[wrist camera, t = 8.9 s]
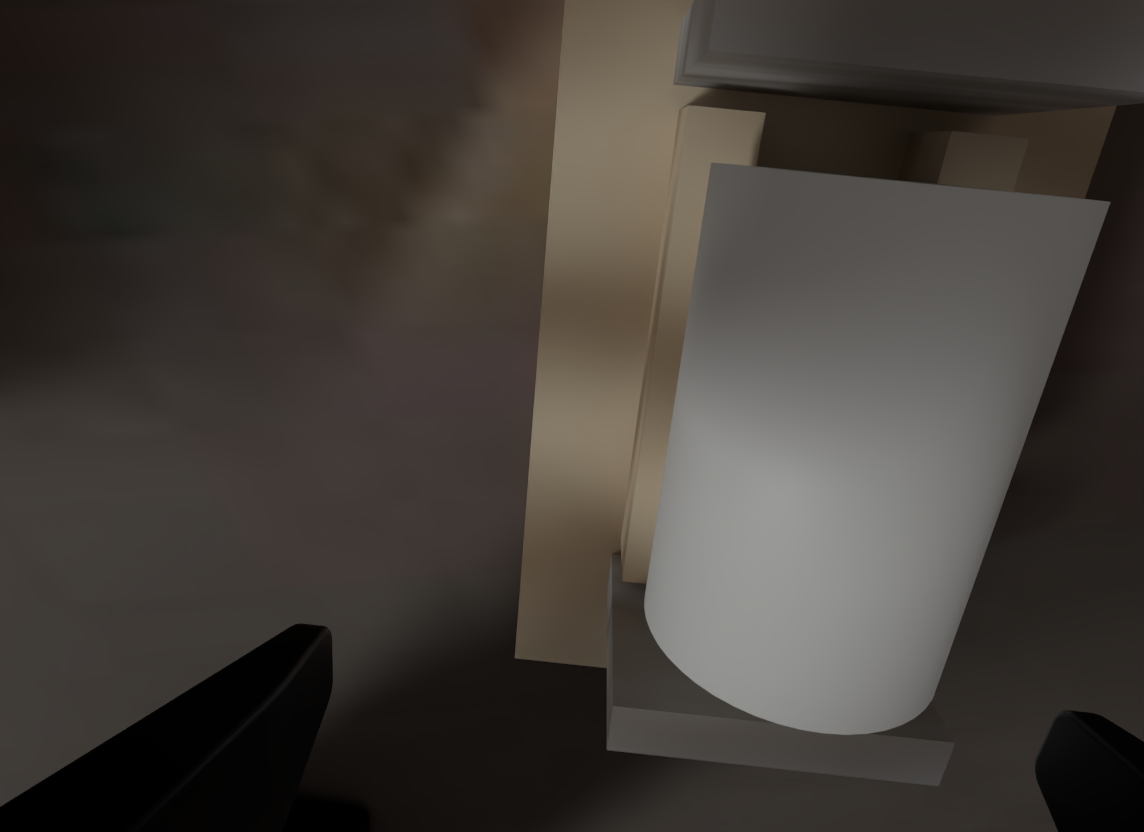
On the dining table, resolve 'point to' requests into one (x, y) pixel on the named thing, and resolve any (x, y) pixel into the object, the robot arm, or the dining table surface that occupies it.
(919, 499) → the roll
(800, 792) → the dining table surface
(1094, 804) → the robot arm
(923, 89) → the roll holder
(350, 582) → the dining table surface
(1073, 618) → the dining table surface
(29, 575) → the dining table surface
